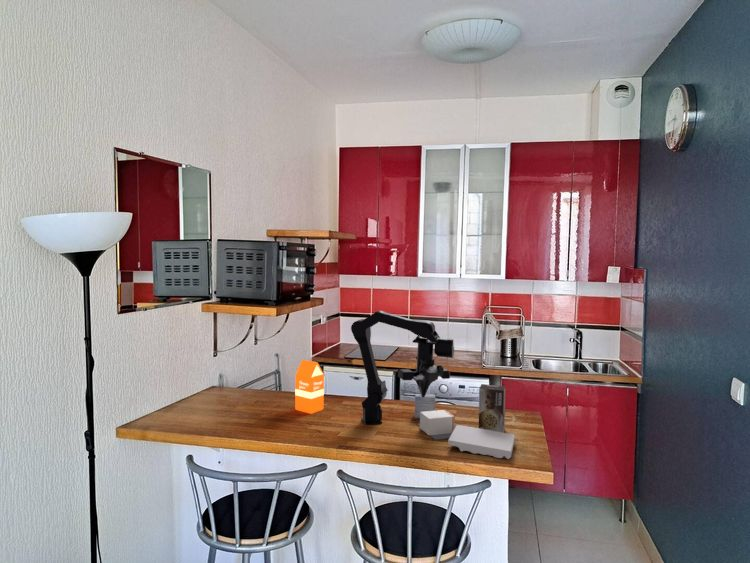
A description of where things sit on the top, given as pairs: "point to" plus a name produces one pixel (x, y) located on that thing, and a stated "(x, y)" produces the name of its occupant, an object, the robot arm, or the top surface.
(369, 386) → the robot arm
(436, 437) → the mat
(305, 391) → the orange juice
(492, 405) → the coffee box
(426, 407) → the medicine box
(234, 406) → the top surface
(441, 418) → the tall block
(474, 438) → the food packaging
